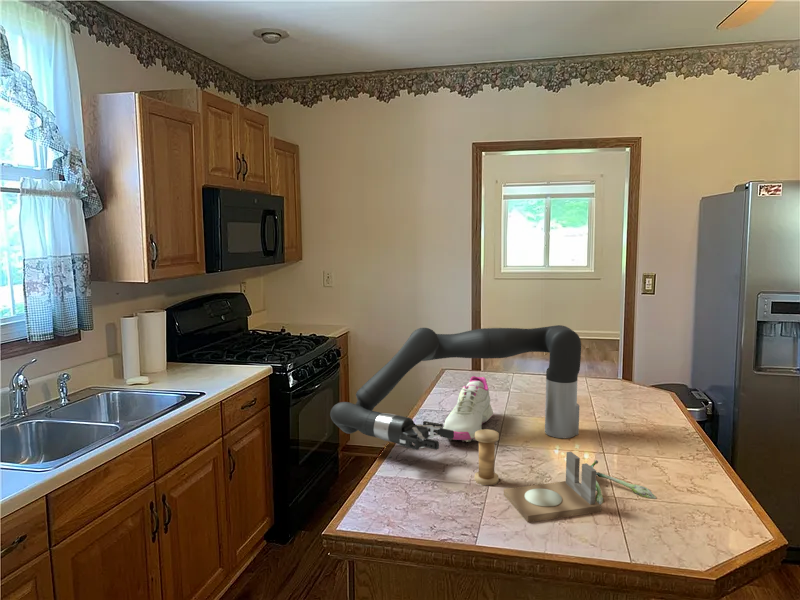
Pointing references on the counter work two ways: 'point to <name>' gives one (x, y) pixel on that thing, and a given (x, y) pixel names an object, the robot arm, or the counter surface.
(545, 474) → the counter surface
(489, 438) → the bobbin
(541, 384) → the counter surface
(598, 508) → the board
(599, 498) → the plant
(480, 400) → the golf shoe
